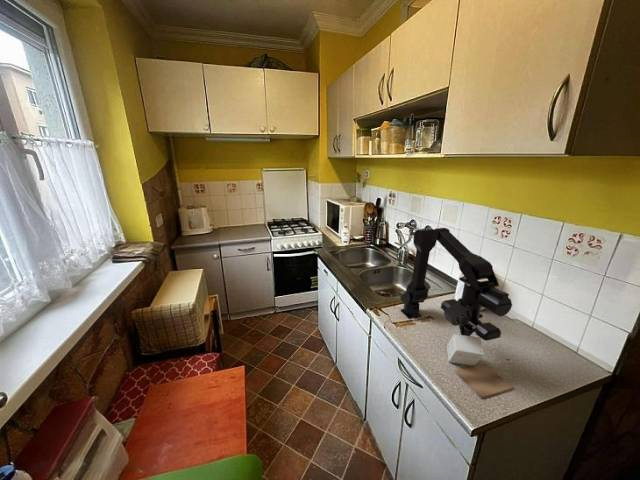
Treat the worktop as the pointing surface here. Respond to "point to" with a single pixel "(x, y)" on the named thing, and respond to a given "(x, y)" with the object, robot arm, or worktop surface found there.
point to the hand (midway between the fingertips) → (464, 339)
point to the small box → (465, 350)
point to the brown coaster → (483, 380)
